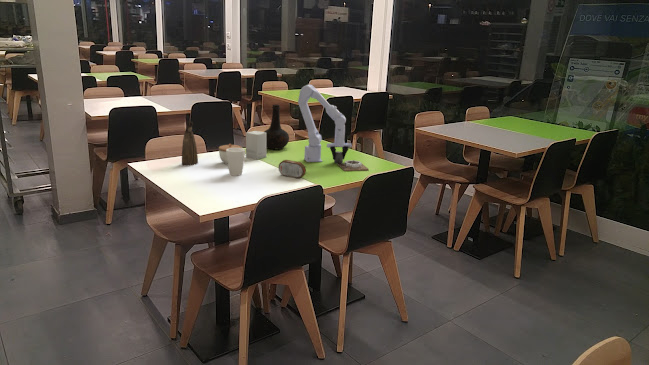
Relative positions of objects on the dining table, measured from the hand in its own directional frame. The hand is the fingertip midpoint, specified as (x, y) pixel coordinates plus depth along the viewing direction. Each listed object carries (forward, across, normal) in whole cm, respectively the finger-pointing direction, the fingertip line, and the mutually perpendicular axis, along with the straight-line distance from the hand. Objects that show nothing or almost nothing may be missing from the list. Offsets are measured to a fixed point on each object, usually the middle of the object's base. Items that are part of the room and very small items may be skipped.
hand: (338, 159), depth 282 cm
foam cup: (+2, -61, -18) cm, 64 cm away
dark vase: (+2, -31, +40) cm, 51 cm away
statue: (+2, -84, +5) cm, 84 cm away
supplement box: (+2, -46, +17) cm, 49 cm away
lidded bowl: (+2, -62, +5) cm, 62 cm away
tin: (+2, -33, -26) cm, 42 cm away
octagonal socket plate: (+2, +5, -12) cm, 13 cm away
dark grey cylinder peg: (+2, 0, 0) cm, 2 cm away
